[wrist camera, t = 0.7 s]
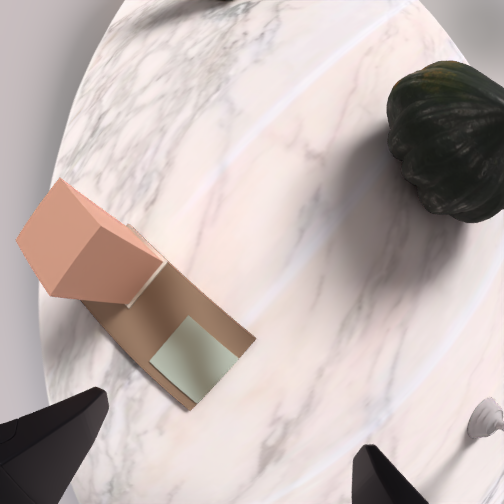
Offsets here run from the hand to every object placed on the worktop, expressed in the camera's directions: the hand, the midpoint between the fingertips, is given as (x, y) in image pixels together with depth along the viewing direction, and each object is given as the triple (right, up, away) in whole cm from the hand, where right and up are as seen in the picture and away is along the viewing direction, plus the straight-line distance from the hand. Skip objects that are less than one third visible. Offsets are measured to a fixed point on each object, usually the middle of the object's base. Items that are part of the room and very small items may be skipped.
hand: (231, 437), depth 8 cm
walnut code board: (-7, +1, +14) cm, 16 cm away
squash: (+19, +15, +17) cm, 30 cm away
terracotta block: (-9, +5, +14) cm, 18 cm away
